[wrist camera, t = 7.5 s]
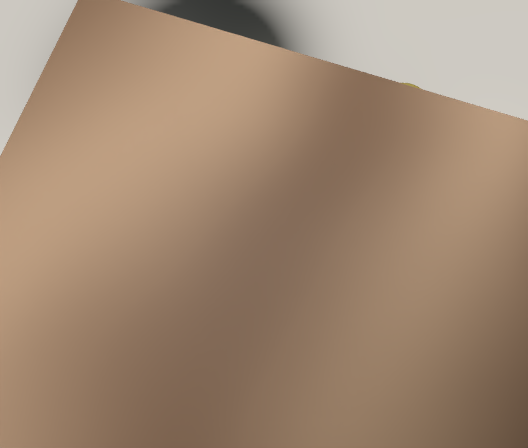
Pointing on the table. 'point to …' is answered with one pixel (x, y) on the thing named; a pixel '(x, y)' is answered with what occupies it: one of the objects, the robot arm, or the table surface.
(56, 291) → the brown wooden block
